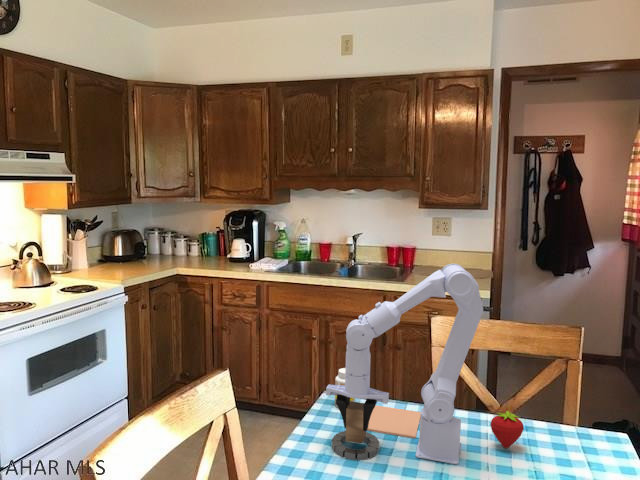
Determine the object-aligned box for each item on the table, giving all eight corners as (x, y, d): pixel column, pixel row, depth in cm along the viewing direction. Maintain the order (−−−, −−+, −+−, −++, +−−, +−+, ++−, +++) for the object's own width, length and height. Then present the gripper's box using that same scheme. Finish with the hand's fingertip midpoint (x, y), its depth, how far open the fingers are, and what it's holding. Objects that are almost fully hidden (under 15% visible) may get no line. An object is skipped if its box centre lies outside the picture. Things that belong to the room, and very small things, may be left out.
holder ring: (382, 440, 124) (382, 434, 124) (373, 463, 114) (374, 457, 114) (338, 432, 128) (339, 427, 127) (326, 455, 117) (326, 448, 117)
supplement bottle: (358, 406, 143) (359, 371, 141) (343, 411, 139) (344, 375, 138) (345, 399, 147) (346, 365, 146) (330, 404, 143) (331, 369, 142)
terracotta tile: (421, 414, 139) (421, 412, 139) (415, 438, 126) (415, 436, 125) (370, 406, 143) (370, 404, 143) (359, 429, 130) (359, 427, 130)
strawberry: (486, 440, 126) (488, 401, 124) (518, 442, 125) (520, 403, 124) (492, 452, 120) (494, 412, 119) (525, 455, 119) (528, 414, 118)
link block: (365, 435, 122) (366, 403, 121) (362, 443, 118) (363, 410, 117) (349, 432, 123) (350, 401, 122) (345, 440, 119) (346, 408, 118)
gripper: (391, 369, 120) (389, 424, 122) (332, 362, 125) (331, 415, 126) (386, 380, 114) (384, 438, 115) (324, 372, 118) (322, 428, 119)
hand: (356, 427), depth 120 cm, fingers closed on link block, 4 cm apart
